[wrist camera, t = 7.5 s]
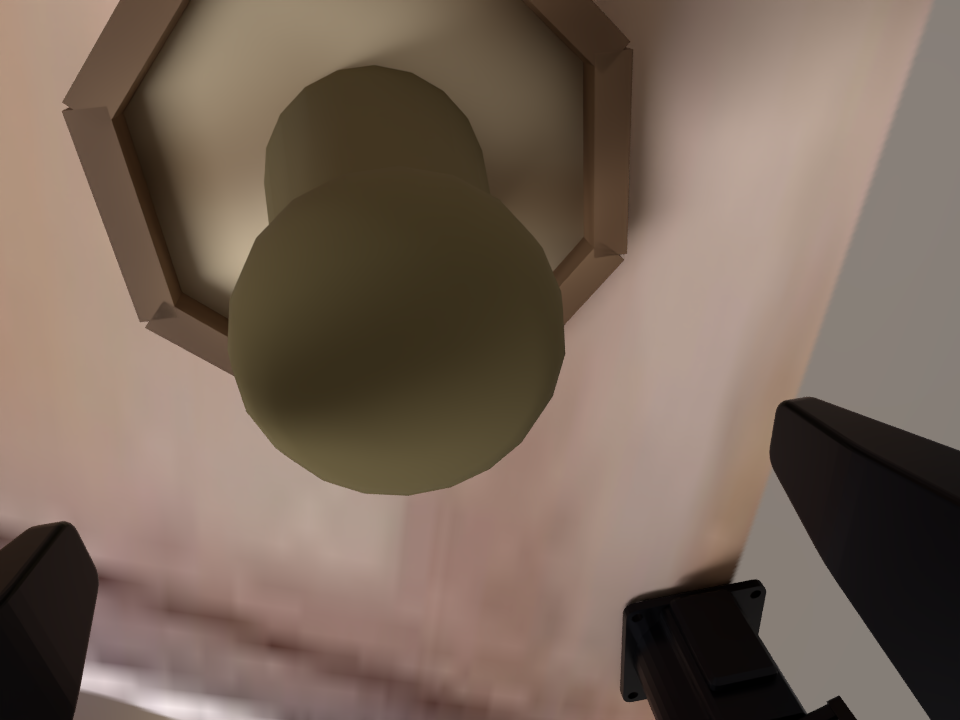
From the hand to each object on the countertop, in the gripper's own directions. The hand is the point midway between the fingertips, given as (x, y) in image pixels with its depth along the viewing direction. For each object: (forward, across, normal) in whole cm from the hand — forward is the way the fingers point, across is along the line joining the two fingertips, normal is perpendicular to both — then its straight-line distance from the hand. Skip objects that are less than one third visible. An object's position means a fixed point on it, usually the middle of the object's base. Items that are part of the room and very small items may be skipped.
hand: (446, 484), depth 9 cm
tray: (+13, 0, -1) cm, 13 cm away
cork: (+12, 0, -1) cm, 12 cm away
